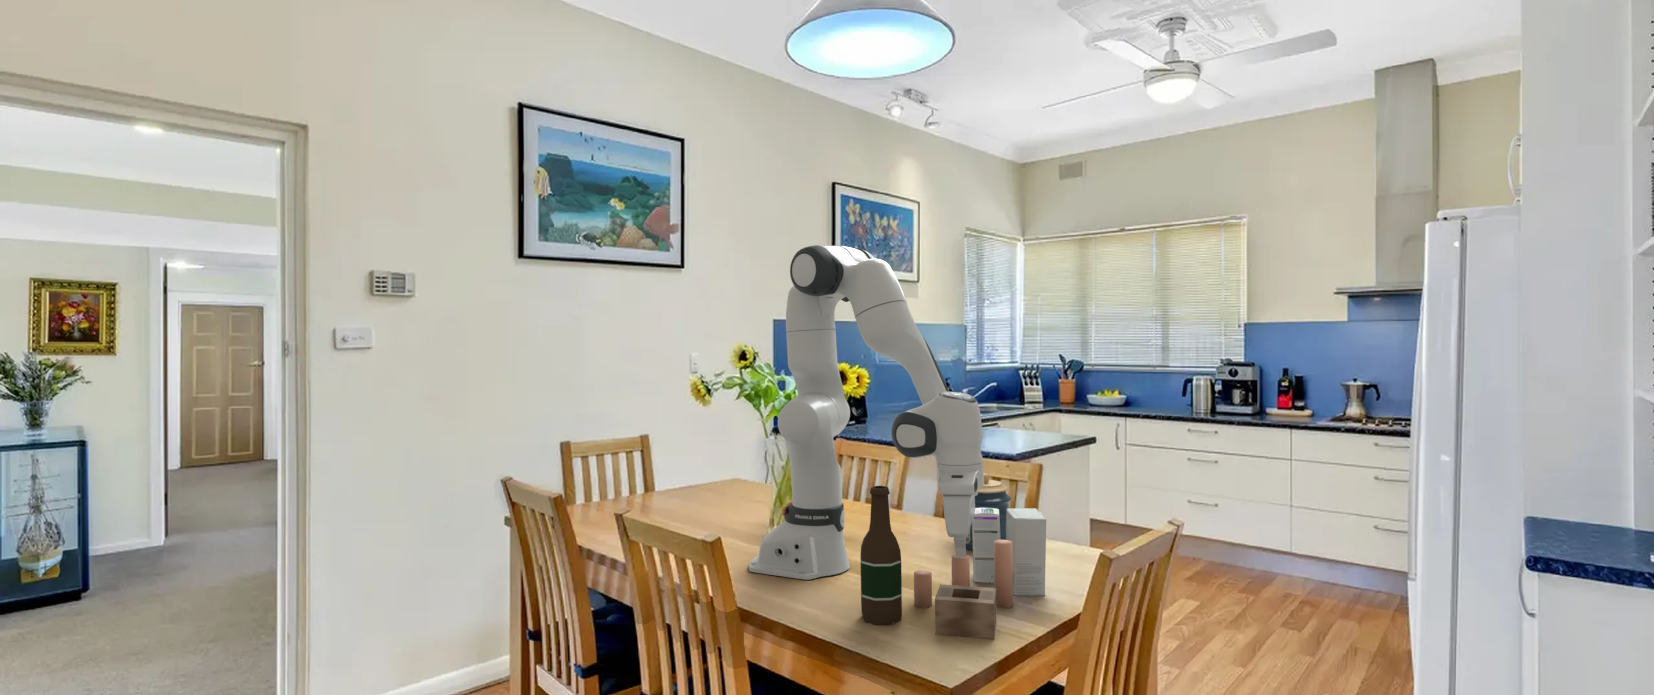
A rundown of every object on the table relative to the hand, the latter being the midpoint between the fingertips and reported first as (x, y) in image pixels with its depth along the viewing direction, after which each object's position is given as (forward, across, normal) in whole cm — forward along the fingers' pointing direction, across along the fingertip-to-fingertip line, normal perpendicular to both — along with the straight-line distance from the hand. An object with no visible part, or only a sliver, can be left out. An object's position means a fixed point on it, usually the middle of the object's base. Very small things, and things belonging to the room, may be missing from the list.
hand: (963, 549), depth 145 cm
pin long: (+11, -1, +7) cm, 13 cm away
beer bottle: (+10, +10, -14) cm, 21 cm away
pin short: (+10, +2, -8) cm, 13 cm away
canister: (+11, -42, +1) cm, 44 cm away
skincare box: (+11, -11, +11) cm, 19 cm away
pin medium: (+10, 0, -1) cm, 11 cm away
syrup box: (+11, -16, +3) cm, 20 cm away
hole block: (+11, +12, +1) cm, 16 cm away
